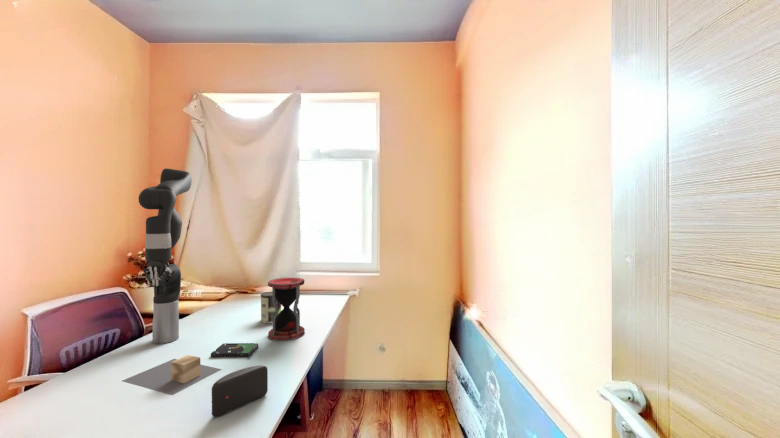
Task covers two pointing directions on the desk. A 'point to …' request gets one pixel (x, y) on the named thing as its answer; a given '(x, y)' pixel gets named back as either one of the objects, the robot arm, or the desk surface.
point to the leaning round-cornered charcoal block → (239, 389)
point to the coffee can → (267, 308)
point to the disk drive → (235, 350)
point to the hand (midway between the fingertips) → (158, 296)
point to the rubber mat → (167, 378)
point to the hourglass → (286, 308)
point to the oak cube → (185, 369)
